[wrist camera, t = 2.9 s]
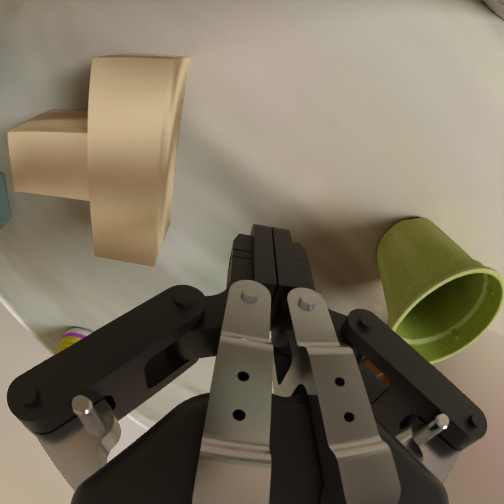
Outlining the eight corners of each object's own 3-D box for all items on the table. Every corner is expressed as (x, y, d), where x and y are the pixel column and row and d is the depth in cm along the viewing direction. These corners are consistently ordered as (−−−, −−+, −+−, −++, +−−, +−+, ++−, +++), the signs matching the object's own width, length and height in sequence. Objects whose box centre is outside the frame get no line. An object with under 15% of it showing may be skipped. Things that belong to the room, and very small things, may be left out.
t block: (52, 57, 14) (6, 67, 10) (190, 57, 15) (170, 59, 11) (56, 205, 21) (25, 241, 17) (170, 223, 22) (153, 266, 18)
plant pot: (332, 262, 24) (357, 351, 17) (409, 173, 19) (473, 245, 12) (402, 300, 27) (431, 374, 20) (469, 232, 22) (519, 299, 15)
